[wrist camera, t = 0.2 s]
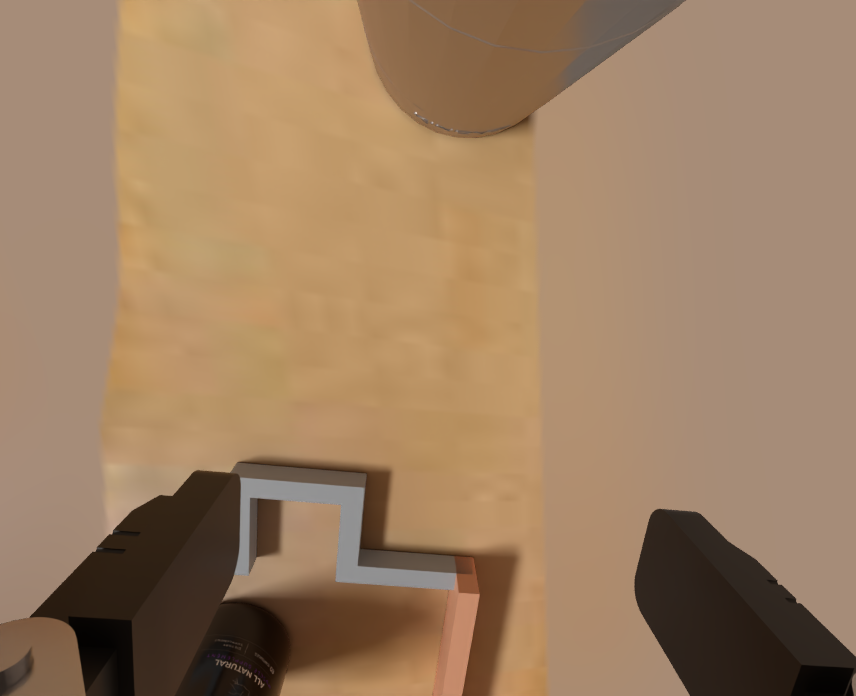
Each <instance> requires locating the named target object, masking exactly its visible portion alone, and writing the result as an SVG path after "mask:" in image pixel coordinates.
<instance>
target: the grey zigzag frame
mask: <svg viewBox="0 0 856 696" xmlns="http://www.w3.org/2000/svg"><path fill="white" fill-rule="evenodd" d="M230 473H237V474H238V475H239V476H240V480H241V505H240V547H239V556H238V561H237V566H236V570H235V573H234V575H246V576H249V574H250V571H251V569H252V567H253V565H254V562H255V560H256V556H257V510H258V498H261V499H274V500H286V501H299V502H311V503H323V504H336V505H341V515H340V528H339V541H338V554H337V568H336V581H335V582H345V583H360V584H374V585H388V586H402V587H416V588H430V589H445V590H449V593H448V599H447V606H446V612H445V619H444V625H443V632H442V638H441V645H440V651H439V658H438V664H437V671H436V677H435V684H434V690H433V696H462V693H463V687H464V682H465V676H466V670H467V664H468V659H469V653H470V647H471V642H472V636H473V630H474V625H475V619H476V613H477V608H478V602H479V596H480V592H479V586H478V581H477V575H476V569H475V563H474V558H473V557H462V556H448V555H435V554H422V553H408V552H395V551H382V550H368V549H360V544H361V533H362V522H363V511H364V500H365V489H366V478H367V473H355V472H343V471H331V470H320V469H308V468H296V467H284V466H272V465H261V464H249V463H236V465H235V466H234V468H233V469H232V471H231V472H230Z"/></svg>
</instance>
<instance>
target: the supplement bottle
mask: <svg viewBox="0 0 856 696" xmlns="http://www.w3.org/2000/svg"><path fill="white" fill-rule="evenodd" d="M290 651H291V649H290V641H289V638H288V635H287V632H286V630H285V629H284V627H283V626H282V624H281V623H280V622H279V621H278V620H277V619H276V618H275V617H274V616H273V615H271V614H270V613H269V612H267V611H265V610H263V609H261V608H259V607H256V606H253V605H250V604H244V603H225V604H220V606H219V608H218V610H217V612H216V614H215V616H214V618H213V620H212V622H211V624H210V626H209V628H208V630H207V632H206V634H205V636H204V638H203V640H202V642H201V644H200V646H199V648H198V650H197V652H196V654H195V656H194V658H193V660H192V662H191V664H190V666H189V668H188V670H187V672H186V674H185V676H184V678H183V680H182V682H181V684H180V686H179V688H178V690H177V692H176V694H175V696H280V693H281V689H282V686H283V682H284V679H285V675H286V671H287V667H288V664H289V659H290Z"/></svg>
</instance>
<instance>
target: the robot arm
mask: <svg viewBox="0 0 856 696" xmlns="http://www.w3.org/2000/svg"><path fill="white" fill-rule="evenodd" d="M684 1H686V0H357V2H358V6H359V10H360V13H361V17H362V21H363V25H364V29H365V33H366V37H367V40H368V44H369V47H370V51H371V54H372V57H373V61H374V64H375V67H376V71H377V73H378V75H379V77H380V79H381V81H382V83H383V84H384V86H385V88H386V90H387V92H388V93H389V95H390V96H391V97H392V98H393V100H394V101H395V102H396V103H397V105H398V106H399V107H400V108H401V109H402V110H403V111H404V112H405V113H406V114H408V115H409V116H410V117H411V118H413V119H414V120H415V121H416V122H417V123H419V124H421V125H423V126H425V127H427V128H429V129H431V130H433V131H435V132H437V133H441V134H445V135H449V136H453V137H464V138H478V137H482V136H487V135H492V134H496V133H499V132H501V131H503V130H505V129H507V128H510V127H512V126H514V125H516V124H517V123H519V122H520V121H521V120H523V119H524V118H526V117H527V116H528V115H530V114H531V113H533V112H534V111H535V110H537V109H538V108H540V107H541V106H543V105H544V104H546V103H547V102H549V101H550V100H551V99H553V98H554V97H555V96H557V95H558V94H559V93H561V92H562V91H563V90H565V89H566V88H568V87H569V86H570V85H572V84H573V83H574V82H576V81H577V80H579V79H580V78H581V77H583V76H584V75H585V74H587V73H588V72H590V71H591V70H592V69H594V68H595V67H596V66H598V65H599V64H600V63H602V62H603V61H605V60H606V59H607V58H609V57H610V56H611V55H613V54H614V53H615V52H617V51H618V50H620V49H621V48H622V47H624V46H625V45H626V44H628V43H629V42H630V41H632V40H633V39H635V38H636V37H637V36H639V35H640V34H641V33H643V32H644V31H645V30H647V29H648V28H650V27H651V26H652V25H654V24H655V23H656V22H658V21H659V20H660V19H662V18H663V17H665V16H666V15H667V14H669V13H670V12H671V11H673V10H674V9H676V8H677V7H678V6H679V5H680V4H682V2H684ZM240 505H241V480H240V476H239V475H238V474H237V473H225V472H213V471H200V470H197V471H195V472H193V473H192V474H191V476H190V477H189V478H188V479H187V480H186V481H185V482H184V484H183V485H182V486H181V487H180V488H179V489H178V491H177V492H176V493H175V494H174V495H173V496H164V495H159V496H158V497H156V498H154V499H152V500H150V501H149V502H147V503H145V504H143V505H141V506H140V507H138V508H136V509H134V510H133V511H131V512H130V514H129V515H128V516H127V517H126V518H125V519H124V520H123V521H122V522H121V523H120V524H119V525H118V526H117V527H116V528H115V529H114V530H113V534H112V535H111V534H109V535H108V536H107V537H106V538H105V539H104V540H103V542H102V543H101V544H100V545H99V546H98V547H97V550H96V552H92V553H91V554H90V555H89V556H88V557H87V558H86V559H85V560H84V561H83V562H82V563H81V564H80V565H79V566H78V567H77V569H75V571H74V572H73V573H72V574H71V575H70V576H69V577H68V578H67V579H66V580H65V581H64V582H63V583H62V584H61V585H60V586H59V587H58V588H57V589H56V590H55V591H54V592H53V594H51V595H50V596H49V598H48V599H47V600H46V601H45V602H44V603H43V604H42V605H41V606H40V607H39V608H38V609H37V610H36V611H35V612H34V613H33V614H32V615H31V616H30V617H29V618H24V619H19V620H13V621H10V622H6V623H3V624H0V696H175V694H176V692H177V690H178V688H179V686H180V684H181V682H182V680H183V678H184V676H185V674H186V672H187V670H188V668H189V666H190V664H191V662H192V660H193V658H194V656H195V654H196V652H197V650H198V648H199V646H200V644H201V642H202V640H203V638H204V636H205V634H206V632H207V630H208V628H209V626H210V624H211V622H212V620H213V618H214V616H215V614H216V612H217V610H218V608H219V606H220V604H221V602H222V600H223V598H224V596H225V594H226V592H227V590H228V588H229V586H230V584H231V581H232V579H233V576H234V573H235V570H236V566H237V561H238V556H239V547H240ZM635 596H636V601H637V604H638V607H639V609H640V611H641V614H642V615H643V617H644V619H645V620H646V622H647V624H648V625H649V627H650V629H651V630H652V632H653V634H654V635H655V637H656V639H657V640H658V642H659V644H660V645H661V647H662V649H663V651H664V652H665V654H666V656H667V657H668V659H669V661H670V662H671V664H672V666H673V668H674V669H675V671H676V673H677V674H678V676H679V678H680V679H681V681H682V682H683V684H684V686H685V688H686V689H687V691H688V693H689V694H690V696H856V657H855V656H854V655H853V654H852V653H851V652H850V651H849V650H848V649H847V648H846V647H845V646H844V645H843V644H842V643H841V642H840V641H839V640H838V639H837V638H836V637H835V636H834V635H833V634H832V633H831V632H830V631H829V630H828V629H826V628H825V626H823V625H822V624H821V623H820V622H819V621H818V620H817V619H816V618H815V617H814V616H813V615H812V614H811V613H810V612H809V611H808V610H807V609H806V608H805V607H804V606H803V605H802V604H800V603H797V602H796V598H795V597H794V596H793V595H792V594H790V592H788V591H787V590H786V589H785V588H784V587H783V586H782V585H778V583H777V580H776V579H775V578H774V577H773V576H772V575H771V574H770V573H769V572H768V571H767V570H766V569H765V568H764V567H763V566H762V565H761V564H760V563H759V562H758V561H757V560H756V559H754V558H752V557H751V556H750V555H748V554H747V553H745V552H743V551H742V550H740V549H739V548H737V547H735V546H734V545H733V544H731V543H730V542H728V541H727V540H726V539H725V538H724V537H723V536H722V535H721V534H720V533H719V532H718V531H717V530H716V529H715V528H714V527H713V526H712V525H711V524H710V523H709V522H708V521H707V520H706V519H705V518H704V517H703V516H702V515H701V514H699V513H697V512H691V511H678V510H666V509H657V510H655V511H654V512H653V513H652V514H651V516H650V519H649V522H648V526H647V531H646V534H645V538H644V542H643V547H642V551H641V554H640V559H639V562H638V567H637V571H636V575H635Z"/></svg>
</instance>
